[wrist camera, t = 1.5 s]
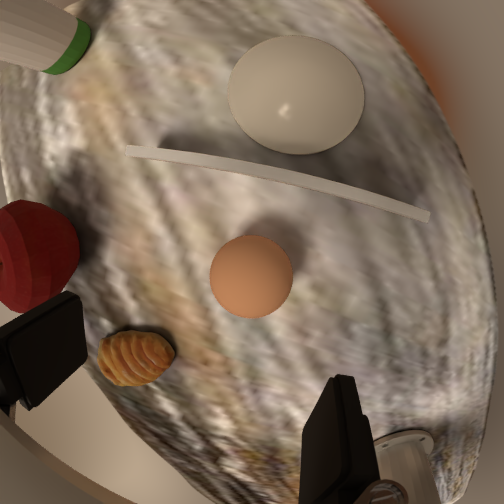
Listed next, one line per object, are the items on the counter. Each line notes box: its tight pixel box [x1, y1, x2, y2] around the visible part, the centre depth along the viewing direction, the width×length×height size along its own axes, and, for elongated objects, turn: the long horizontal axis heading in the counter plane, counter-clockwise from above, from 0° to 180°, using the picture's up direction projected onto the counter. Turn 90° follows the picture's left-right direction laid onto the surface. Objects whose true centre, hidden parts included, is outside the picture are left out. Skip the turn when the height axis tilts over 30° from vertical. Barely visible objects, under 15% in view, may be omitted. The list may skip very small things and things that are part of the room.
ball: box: [210, 235, 293, 318], centre depth 20 cm, size 6×6×6 cm
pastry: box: [97, 330, 175, 386], centre depth 26 cm, size 9×7×4 cm
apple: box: [0, 200, 80, 313], centre depth 20 cm, size 11×11×12 cm
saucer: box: [228, 35, 364, 155], centre depth 19 cm, size 11×11×1 cm
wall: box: [125, 145, 431, 223], centre depth 19 cm, size 22×1×4 cm, turn 78°
